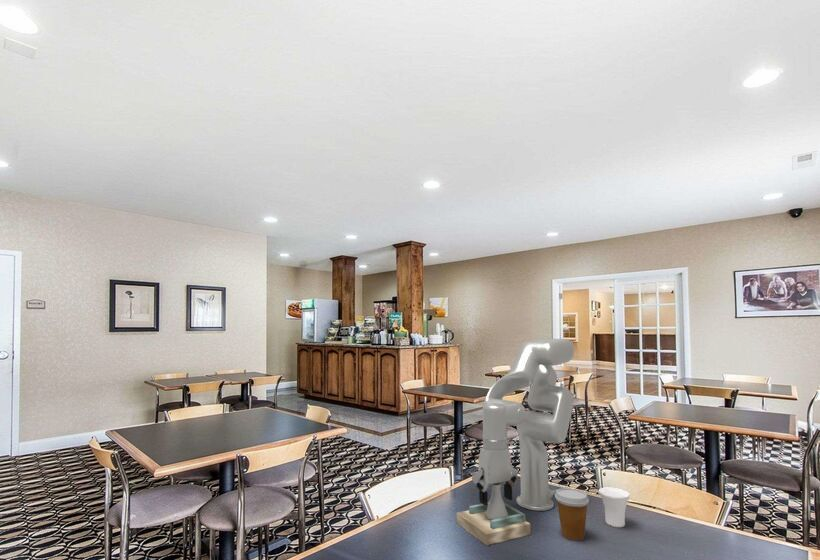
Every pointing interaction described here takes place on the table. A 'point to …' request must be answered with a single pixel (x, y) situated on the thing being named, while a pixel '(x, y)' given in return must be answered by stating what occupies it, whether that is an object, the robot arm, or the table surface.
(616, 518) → the cup
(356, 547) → the table surface
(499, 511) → the flask
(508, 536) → the dock
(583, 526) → the disposable coffee cup
